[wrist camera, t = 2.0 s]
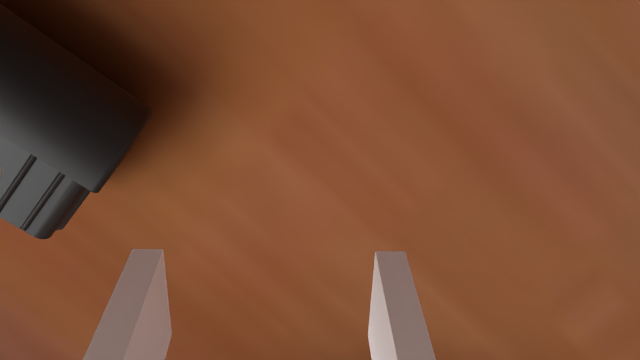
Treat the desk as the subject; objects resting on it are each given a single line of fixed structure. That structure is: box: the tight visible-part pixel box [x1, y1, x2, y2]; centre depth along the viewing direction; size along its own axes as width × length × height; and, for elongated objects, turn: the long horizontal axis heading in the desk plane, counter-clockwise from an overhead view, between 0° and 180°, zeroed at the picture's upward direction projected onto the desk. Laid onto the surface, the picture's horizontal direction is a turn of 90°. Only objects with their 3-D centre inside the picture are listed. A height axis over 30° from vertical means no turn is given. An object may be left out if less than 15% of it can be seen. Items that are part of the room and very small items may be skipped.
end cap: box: [0, 4, 152, 239], centre depth 27 cm, size 10×7×7 cm
